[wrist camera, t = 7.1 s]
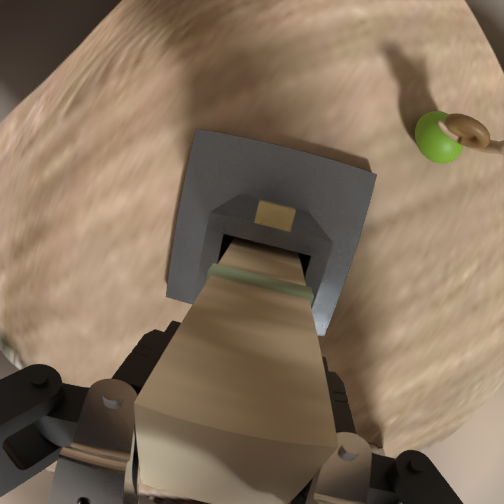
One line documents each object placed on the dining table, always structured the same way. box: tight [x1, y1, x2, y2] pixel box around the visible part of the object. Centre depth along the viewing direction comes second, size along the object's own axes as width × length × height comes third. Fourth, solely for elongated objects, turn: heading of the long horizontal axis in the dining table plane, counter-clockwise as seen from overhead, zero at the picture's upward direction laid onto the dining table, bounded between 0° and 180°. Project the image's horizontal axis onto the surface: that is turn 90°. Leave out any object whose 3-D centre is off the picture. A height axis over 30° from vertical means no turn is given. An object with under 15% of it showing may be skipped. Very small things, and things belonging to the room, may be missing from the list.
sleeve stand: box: [166, 129, 377, 336], centre depth 23 cm, size 18×18×14 cm
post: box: [134, 237, 338, 504], centre depth 14 cm, size 4×4×18 cm
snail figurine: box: [415, 111, 504, 163], centre depth 19 cm, size 5×6×12 cm
